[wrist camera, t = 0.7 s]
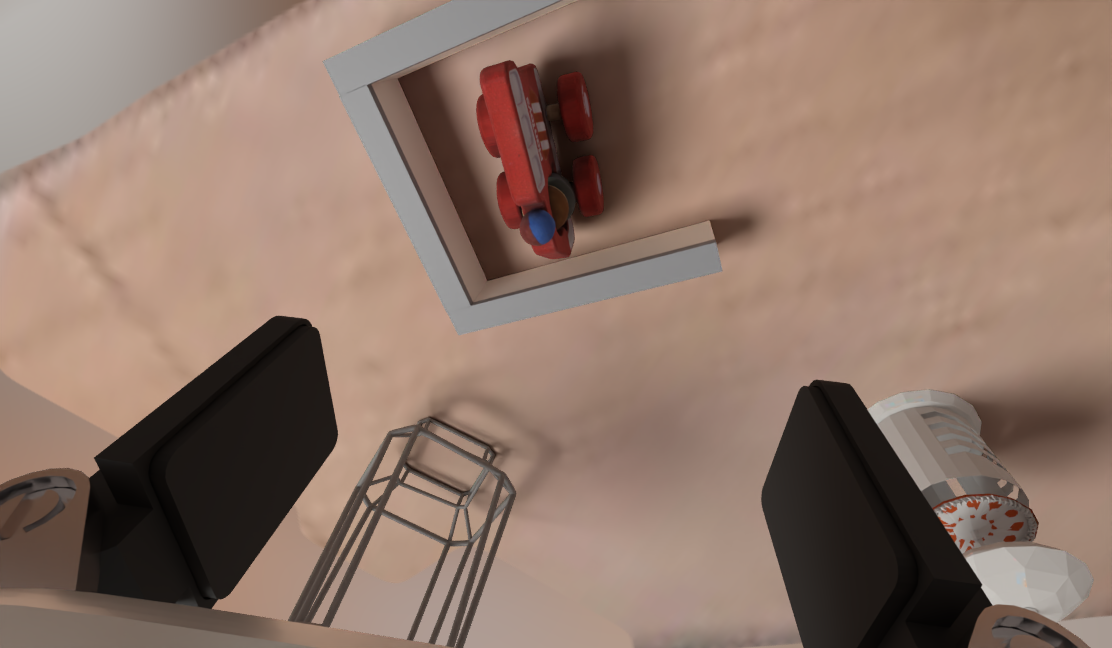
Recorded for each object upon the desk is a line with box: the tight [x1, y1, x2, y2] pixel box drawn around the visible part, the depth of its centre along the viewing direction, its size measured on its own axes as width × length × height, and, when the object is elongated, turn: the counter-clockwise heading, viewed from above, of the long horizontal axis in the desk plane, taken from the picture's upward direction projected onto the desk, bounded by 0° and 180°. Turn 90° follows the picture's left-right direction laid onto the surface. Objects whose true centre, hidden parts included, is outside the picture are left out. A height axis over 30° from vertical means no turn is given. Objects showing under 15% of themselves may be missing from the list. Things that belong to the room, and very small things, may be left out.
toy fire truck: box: [476, 60, 604, 259], centre depth 32 cm, size 7×12×10 cm, turn 12°
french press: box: [868, 389, 1094, 623], centre depth 32 cm, size 10×12×25 cm
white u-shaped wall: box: [323, 0, 722, 335], centre depth 35 cm, size 20×20×5 cm
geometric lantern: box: [288, 417, 516, 648], centre depth 38 cm, size 16×16×35 cm
